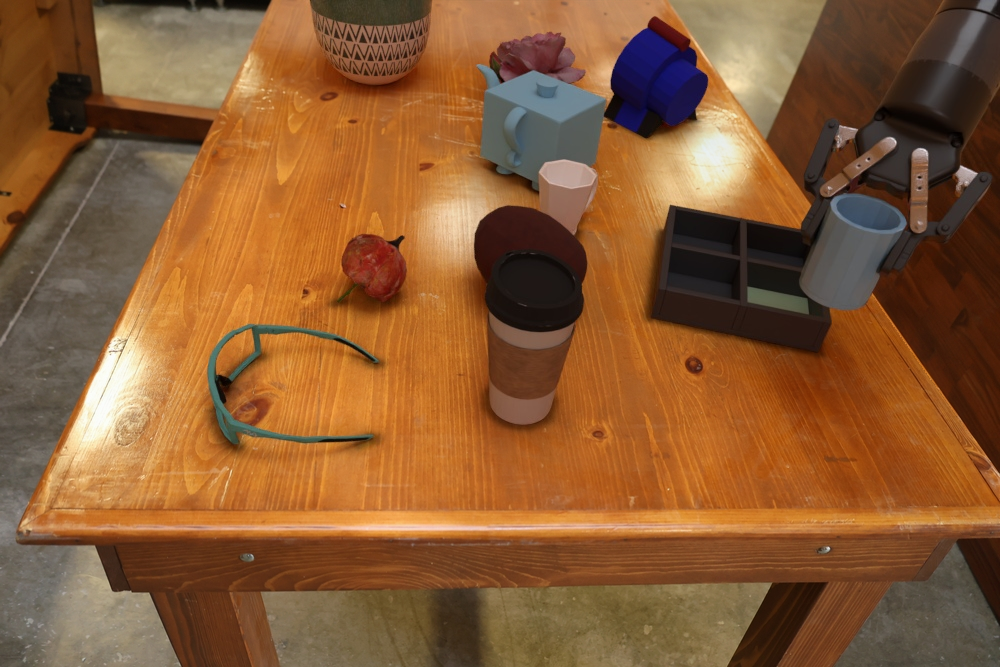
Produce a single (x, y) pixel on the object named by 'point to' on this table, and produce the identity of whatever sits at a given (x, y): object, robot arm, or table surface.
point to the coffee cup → (529, 331)
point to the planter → (372, 36)
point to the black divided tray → (737, 279)
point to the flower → (535, 58)
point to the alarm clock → (656, 80)
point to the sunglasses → (219, 380)
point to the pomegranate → (374, 265)
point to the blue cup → (850, 251)
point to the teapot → (538, 123)
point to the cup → (566, 191)
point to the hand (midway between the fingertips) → (844, 257)
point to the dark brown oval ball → (525, 238)
